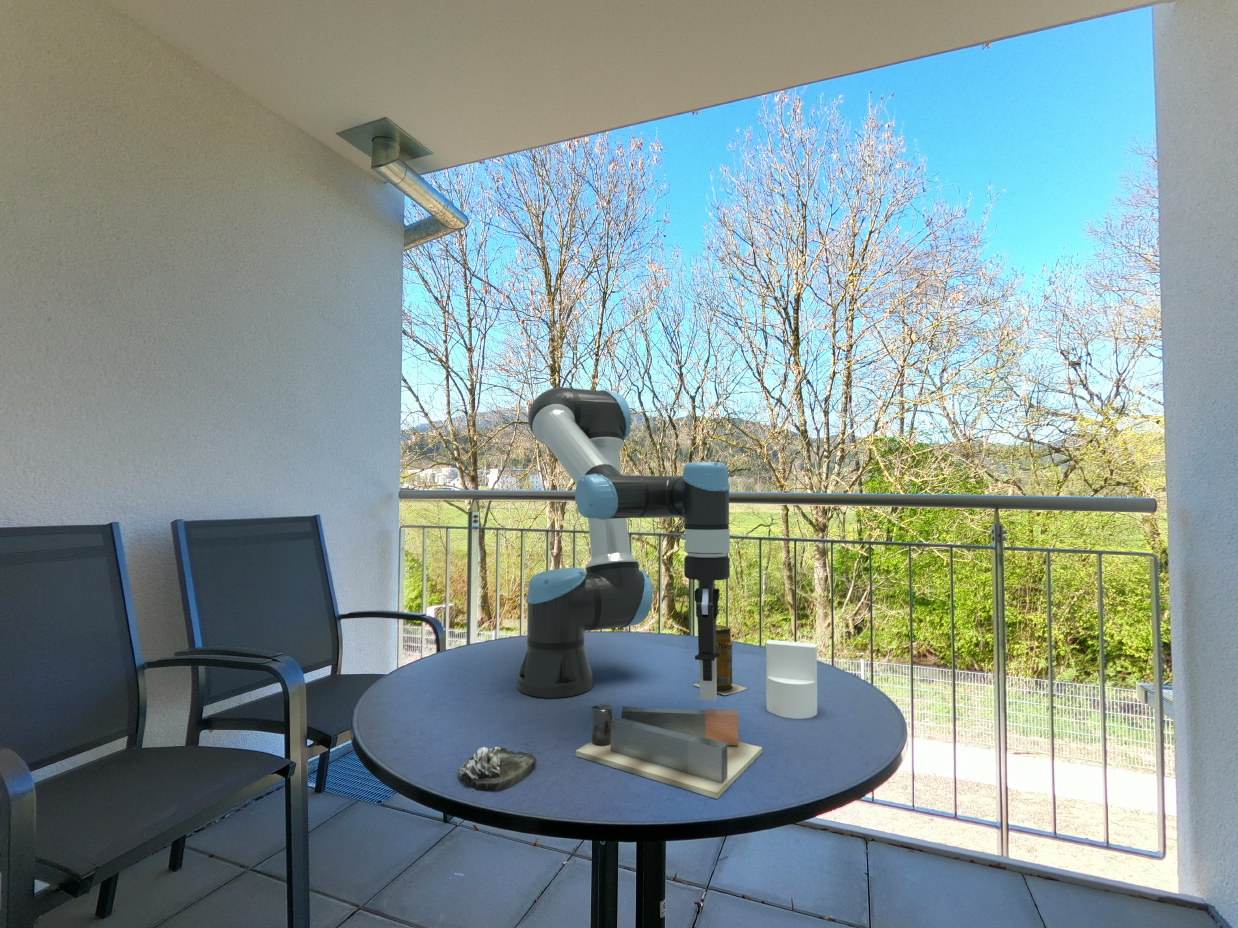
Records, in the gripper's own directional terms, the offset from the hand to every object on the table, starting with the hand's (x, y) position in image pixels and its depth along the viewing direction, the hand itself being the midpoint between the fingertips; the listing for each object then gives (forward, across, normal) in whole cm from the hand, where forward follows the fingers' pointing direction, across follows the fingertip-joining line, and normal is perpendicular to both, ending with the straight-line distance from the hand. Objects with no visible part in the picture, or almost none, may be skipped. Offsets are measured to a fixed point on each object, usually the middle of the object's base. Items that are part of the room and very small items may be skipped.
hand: (708, 698), depth 100 cm
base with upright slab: (+6, -15, +14) cm, 22 cm away
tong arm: (+5, +6, -4) cm, 9 cm away
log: (+6, +20, -29) cm, 35 cm away
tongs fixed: (+5, +12, -7) cm, 15 cm away
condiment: (+6, -25, +1) cm, 25 cm away
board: (+6, +9, -5) cm, 12 cm away
